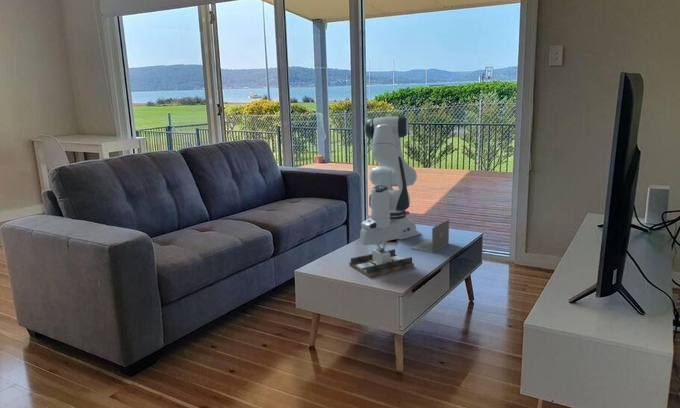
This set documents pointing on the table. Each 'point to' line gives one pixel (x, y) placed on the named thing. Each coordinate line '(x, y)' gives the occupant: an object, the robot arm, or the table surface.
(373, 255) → the block
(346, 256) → the table surface
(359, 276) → the table surface
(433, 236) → the laptop
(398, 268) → the rail board
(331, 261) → the table surface
